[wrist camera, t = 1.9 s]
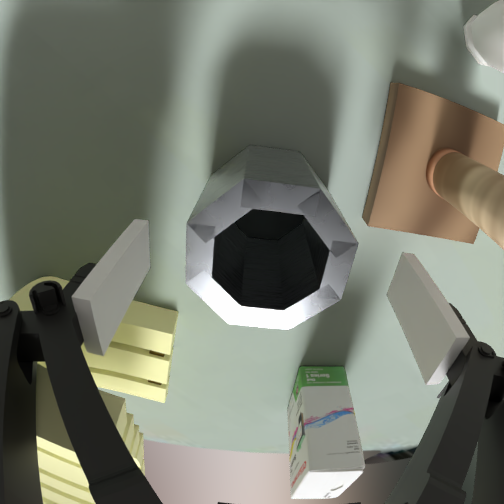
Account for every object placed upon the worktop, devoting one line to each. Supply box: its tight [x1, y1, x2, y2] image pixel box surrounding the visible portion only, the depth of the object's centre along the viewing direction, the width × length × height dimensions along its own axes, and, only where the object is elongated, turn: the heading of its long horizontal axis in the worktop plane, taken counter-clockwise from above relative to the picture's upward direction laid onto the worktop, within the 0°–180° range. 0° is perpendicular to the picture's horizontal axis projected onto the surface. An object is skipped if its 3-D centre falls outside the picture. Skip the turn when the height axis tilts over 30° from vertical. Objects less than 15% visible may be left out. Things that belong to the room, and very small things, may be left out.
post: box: [362, 83, 504, 250], centre depth 16 cm, size 10×10×10 cm
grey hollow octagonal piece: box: [186, 145, 358, 330], centre depth 19 cm, size 8×8×8 cm
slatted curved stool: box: [9, 276, 178, 504], centre depth 22 cm, size 30×16×18 cm, turn 166°
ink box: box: [287, 366, 365, 499], centre depth 27 cm, size 8×5×12 cm, turn 176°
